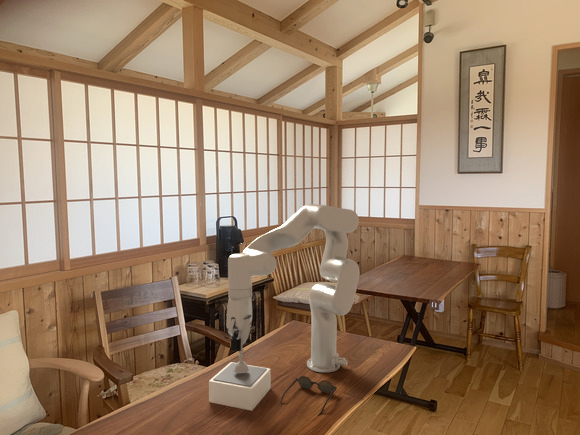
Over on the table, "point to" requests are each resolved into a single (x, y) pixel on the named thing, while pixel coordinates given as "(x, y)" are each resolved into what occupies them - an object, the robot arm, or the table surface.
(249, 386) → the display plinth
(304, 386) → the eyeglasses
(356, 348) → the table surface
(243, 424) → the table surface
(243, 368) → the chalice
